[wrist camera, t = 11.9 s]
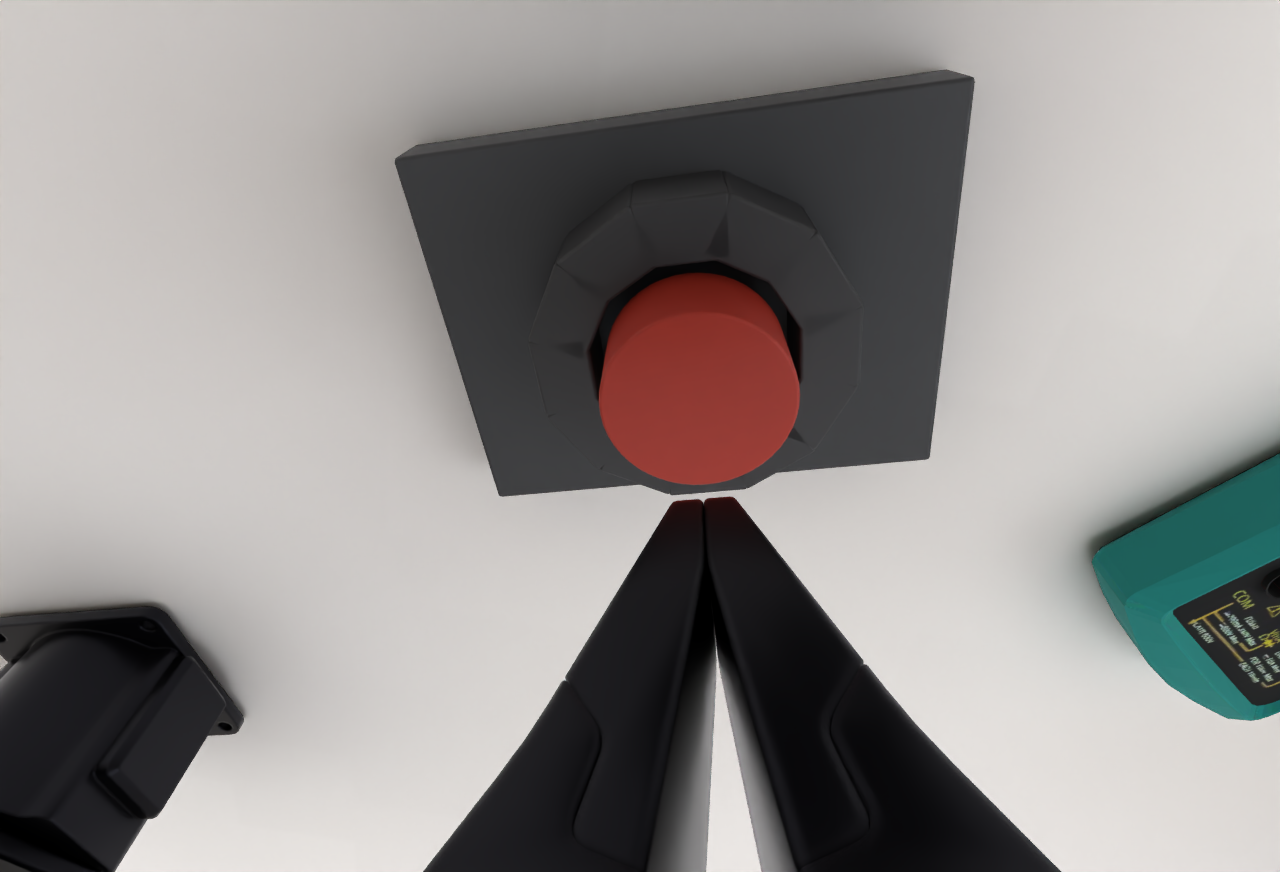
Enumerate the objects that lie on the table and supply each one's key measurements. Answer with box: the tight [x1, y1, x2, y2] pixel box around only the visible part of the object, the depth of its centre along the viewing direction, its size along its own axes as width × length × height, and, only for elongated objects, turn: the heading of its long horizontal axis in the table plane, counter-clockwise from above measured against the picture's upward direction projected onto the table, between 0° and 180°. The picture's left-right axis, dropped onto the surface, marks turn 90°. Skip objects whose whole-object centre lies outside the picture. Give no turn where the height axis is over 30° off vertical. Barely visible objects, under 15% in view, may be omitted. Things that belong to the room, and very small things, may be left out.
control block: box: [395, 70, 975, 497], centre depth 15 cm, size 11×8×3 cm
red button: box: [599, 273, 800, 485], centre depth 13 cm, size 4×4×2 cm
